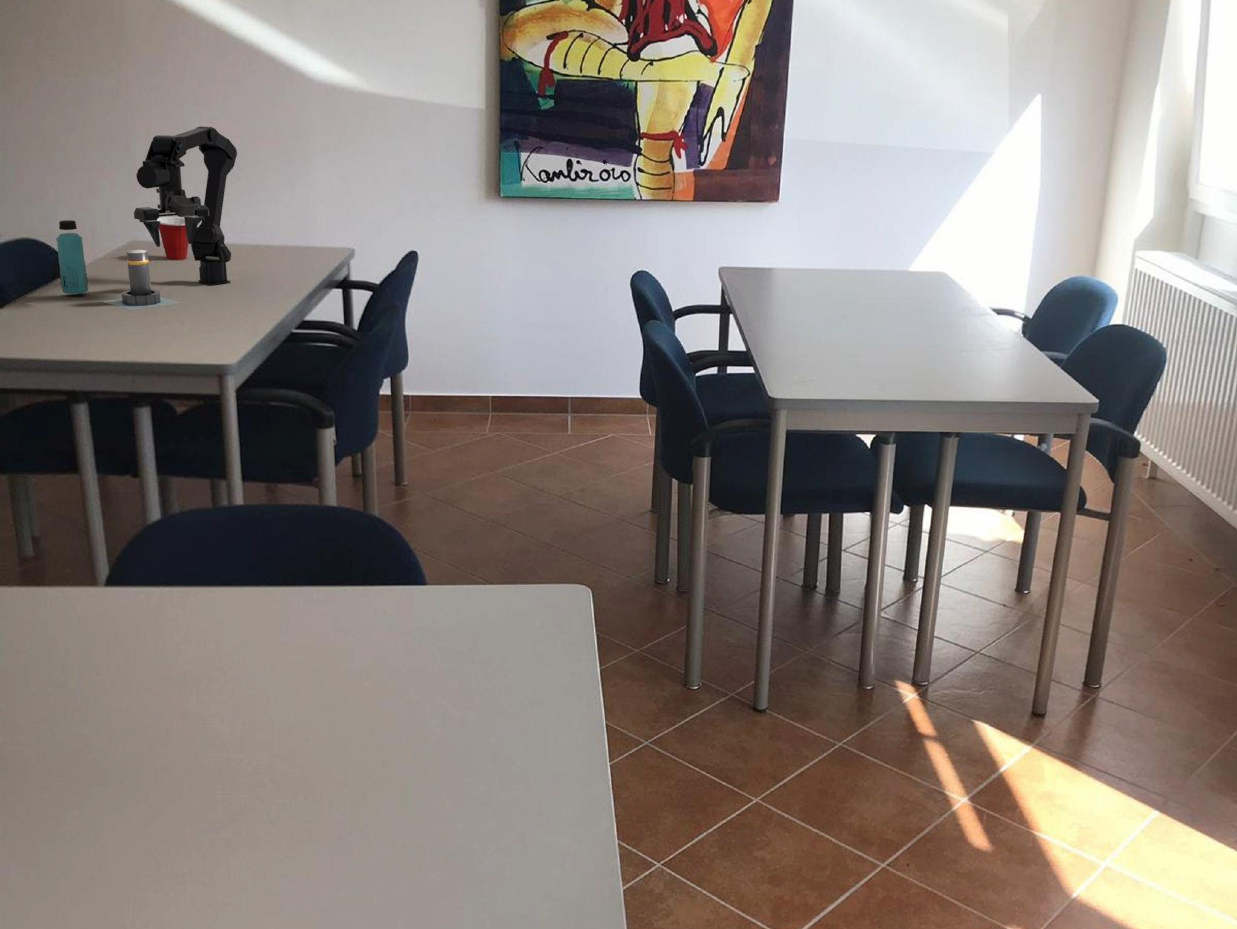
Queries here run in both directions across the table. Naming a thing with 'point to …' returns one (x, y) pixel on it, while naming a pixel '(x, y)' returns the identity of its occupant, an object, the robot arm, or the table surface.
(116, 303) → the blue-gray square plate
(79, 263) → the beverage bottle
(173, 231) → the plastic cup
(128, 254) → the gray canister
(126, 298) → the barrel ring
